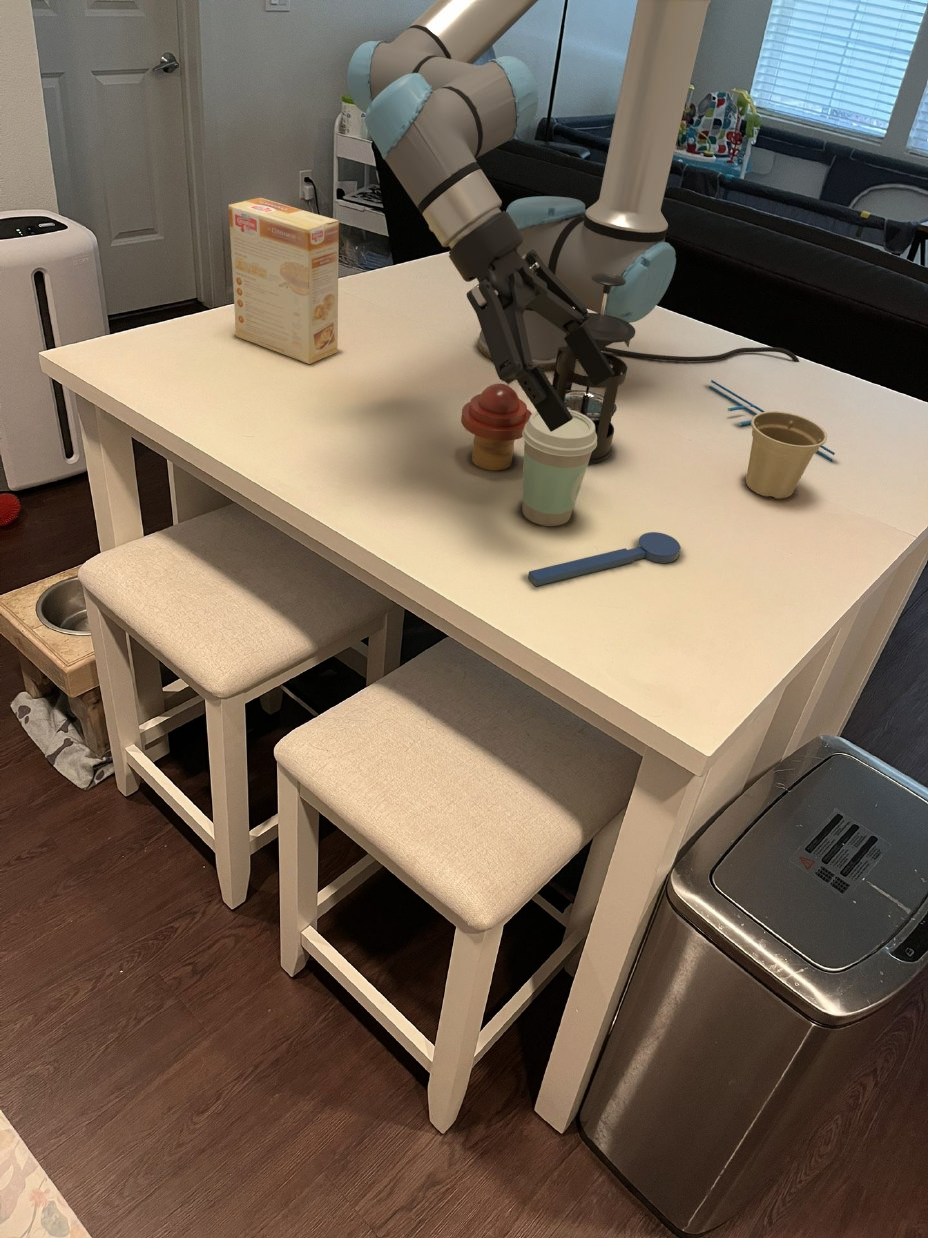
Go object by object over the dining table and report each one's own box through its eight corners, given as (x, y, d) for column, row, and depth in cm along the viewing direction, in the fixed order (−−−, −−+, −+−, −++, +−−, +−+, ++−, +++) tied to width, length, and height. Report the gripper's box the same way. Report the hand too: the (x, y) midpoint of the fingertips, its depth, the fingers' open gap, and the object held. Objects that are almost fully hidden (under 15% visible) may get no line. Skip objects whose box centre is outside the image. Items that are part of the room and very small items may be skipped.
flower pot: (793, 514, 117) (816, 453, 111) (722, 489, 120) (741, 428, 115) (813, 485, 123) (835, 427, 118) (745, 462, 127) (764, 404, 121)
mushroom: (504, 439, 125) (514, 366, 118) (538, 471, 119) (551, 396, 113) (445, 449, 121) (452, 374, 115) (477, 482, 115) (487, 405, 109)
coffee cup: (577, 538, 107) (596, 446, 100) (505, 524, 108) (519, 432, 101) (584, 502, 114) (603, 413, 107) (516, 489, 115) (530, 400, 107)
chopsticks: (810, 457, 126) (835, 452, 128) (687, 382, 142) (712, 379, 144) (806, 467, 127) (831, 461, 129) (685, 391, 143) (709, 387, 145)
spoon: (661, 536, 110) (663, 528, 109) (686, 558, 106) (689, 550, 106) (520, 569, 101) (521, 561, 101) (543, 594, 98) (544, 586, 97)
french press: (628, 459, 124) (667, 287, 110) (572, 472, 120) (605, 295, 105) (576, 420, 131) (607, 255, 117) (522, 431, 127) (547, 261, 113)
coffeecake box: (339, 352, 142) (341, 219, 130) (309, 365, 137) (308, 229, 125) (265, 324, 148) (260, 195, 136) (234, 336, 143) (226, 203, 131)
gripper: (498, 223, 108) (595, 378, 113) (392, 281, 90) (514, 462, 95) (546, 184, 103) (645, 347, 108) (445, 236, 85) (570, 430, 90)
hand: (584, 401), depth 101 cm, fingers open, 13 cm apart
